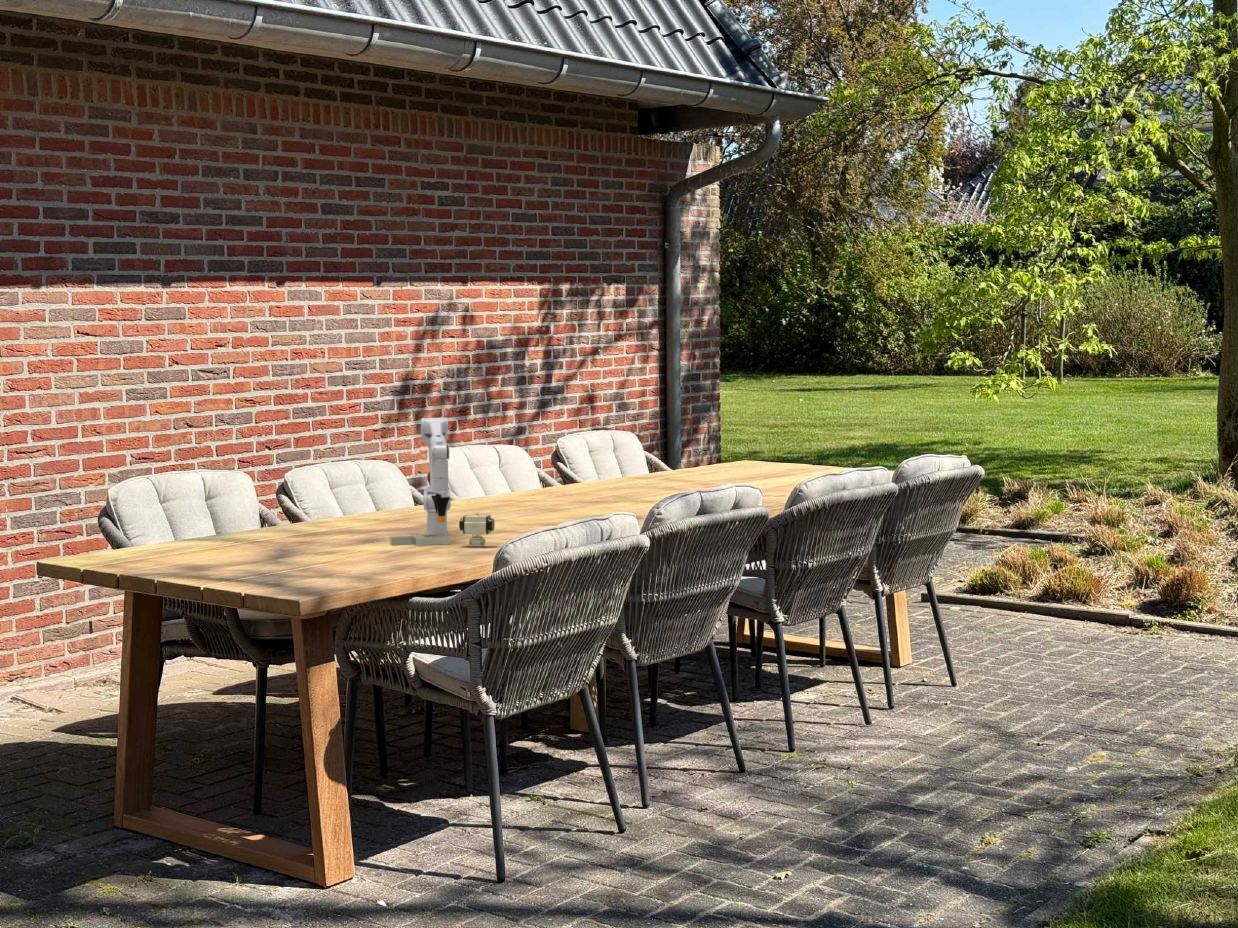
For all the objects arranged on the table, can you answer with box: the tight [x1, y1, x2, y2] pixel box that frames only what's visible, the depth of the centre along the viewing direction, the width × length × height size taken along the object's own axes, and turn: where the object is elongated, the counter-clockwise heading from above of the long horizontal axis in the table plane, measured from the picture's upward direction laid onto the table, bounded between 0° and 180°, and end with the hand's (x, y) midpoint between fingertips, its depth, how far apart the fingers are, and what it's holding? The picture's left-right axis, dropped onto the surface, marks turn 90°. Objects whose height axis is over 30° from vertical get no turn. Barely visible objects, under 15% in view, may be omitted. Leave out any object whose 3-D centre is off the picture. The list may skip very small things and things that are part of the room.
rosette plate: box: [389, 533, 451, 547], centre depth 532 cm, size 12×20×2 cm, turn 107°
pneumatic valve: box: [458, 512, 496, 548], centre depth 522 cm, size 6×12×12 cm, turn 82°
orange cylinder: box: [437, 510, 446, 522], centre depth 535 cm, size 3×3×7 cm
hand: (440, 515), depth 535 cm, fingers closed on orange cylinder, 3 cm apart
